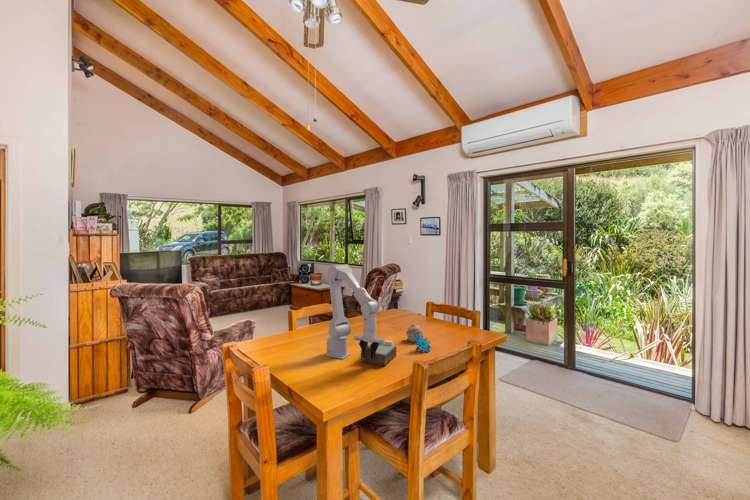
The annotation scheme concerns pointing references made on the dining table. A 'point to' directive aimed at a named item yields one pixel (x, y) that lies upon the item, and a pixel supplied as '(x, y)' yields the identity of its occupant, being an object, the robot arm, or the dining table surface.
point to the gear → (422, 343)
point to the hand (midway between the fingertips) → (369, 358)
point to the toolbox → (381, 358)
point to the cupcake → (413, 332)
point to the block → (368, 355)
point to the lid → (384, 348)
